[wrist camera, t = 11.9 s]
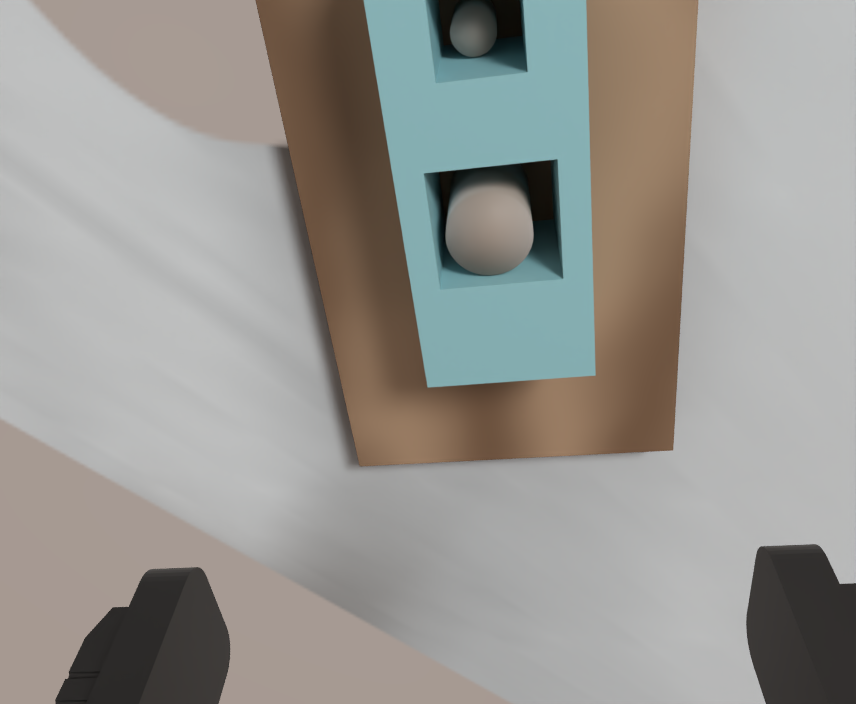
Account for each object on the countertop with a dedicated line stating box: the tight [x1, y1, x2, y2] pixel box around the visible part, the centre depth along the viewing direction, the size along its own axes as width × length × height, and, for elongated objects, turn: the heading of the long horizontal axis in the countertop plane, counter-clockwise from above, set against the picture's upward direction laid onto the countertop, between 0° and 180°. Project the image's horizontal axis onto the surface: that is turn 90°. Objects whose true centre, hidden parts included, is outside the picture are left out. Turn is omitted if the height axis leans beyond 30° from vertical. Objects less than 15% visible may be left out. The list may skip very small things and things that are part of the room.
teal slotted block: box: [364, 0, 596, 388], centre depth 22 cm, size 5×13×4 cm, turn 8°
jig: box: [256, 0, 698, 466], centre depth 24 cm, size 12×22×5 cm, turn 7°
